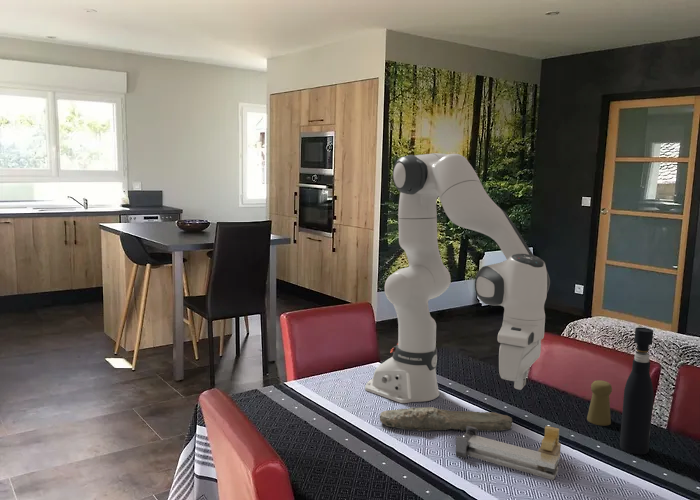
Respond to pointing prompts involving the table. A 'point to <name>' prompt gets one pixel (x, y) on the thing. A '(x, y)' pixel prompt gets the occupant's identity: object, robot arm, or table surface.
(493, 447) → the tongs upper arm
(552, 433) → the tan l-shaped block
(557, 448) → the tan wooden block
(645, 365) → the wine bottle
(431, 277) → the robot arm
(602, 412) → the cork
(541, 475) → the base
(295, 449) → the table surface
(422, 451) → the table surface
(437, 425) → the elongated rock
